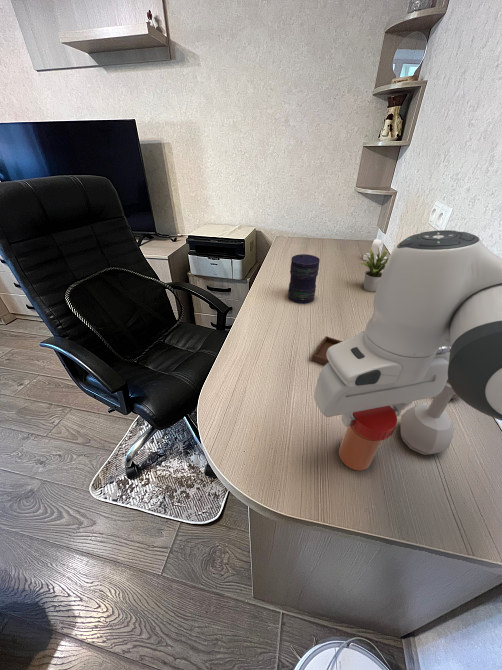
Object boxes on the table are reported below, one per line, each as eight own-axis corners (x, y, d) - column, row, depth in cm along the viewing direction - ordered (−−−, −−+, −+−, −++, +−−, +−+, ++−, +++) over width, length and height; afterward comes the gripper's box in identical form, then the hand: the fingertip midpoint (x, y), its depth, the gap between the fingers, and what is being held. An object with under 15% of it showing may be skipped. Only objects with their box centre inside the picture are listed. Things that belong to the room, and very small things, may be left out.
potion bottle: (449, 437, 55) (495, 370, 45) (436, 469, 50) (485, 401, 39) (403, 413, 60) (435, 347, 50) (387, 439, 55) (419, 372, 44)
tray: (363, 354, 76) (365, 348, 75) (353, 376, 69) (355, 370, 68) (324, 341, 81) (325, 335, 80) (311, 360, 74) (312, 354, 73)
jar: (374, 451, 53) (393, 413, 46) (366, 477, 49) (385, 439, 42) (344, 436, 55) (358, 398, 49) (334, 459, 51) (348, 421, 45)
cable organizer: (366, 256, 141) (371, 236, 135) (386, 261, 136) (392, 240, 130) (362, 259, 138) (367, 238, 132) (382, 264, 132) (388, 243, 127)
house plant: (391, 301, 102) (405, 257, 92) (352, 294, 106) (361, 252, 97) (390, 285, 113) (403, 245, 103) (355, 280, 117) (364, 241, 108)
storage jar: (319, 301, 102) (325, 262, 93) (295, 306, 99) (299, 265, 90) (306, 290, 109) (310, 252, 101) (283, 294, 107) (286, 256, 98)
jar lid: (341, 424, 46) (344, 414, 44) (358, 399, 50) (361, 390, 49) (384, 449, 42) (388, 439, 41) (398, 420, 46) (403, 410, 45)
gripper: (441, 331, 43) (411, 394, 50) (316, 349, 39) (305, 413, 47) (476, 357, 37) (437, 422, 45) (337, 380, 34) (321, 446, 42)
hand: (369, 418), depth 46 cm, fingers closed on jar lid, 7 cm apart
